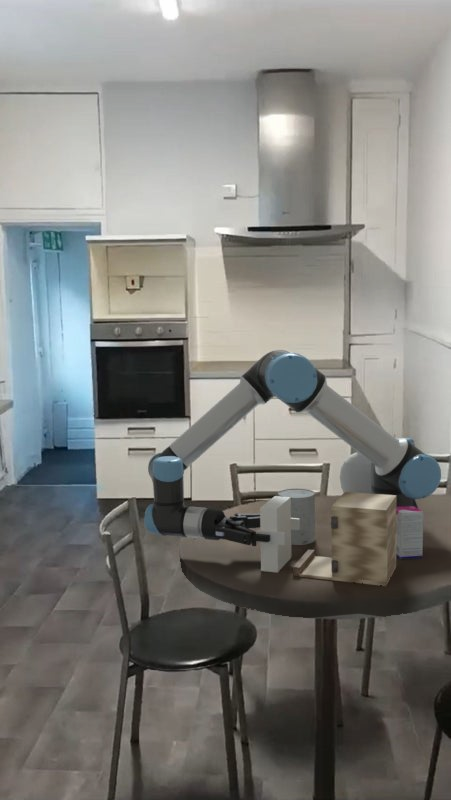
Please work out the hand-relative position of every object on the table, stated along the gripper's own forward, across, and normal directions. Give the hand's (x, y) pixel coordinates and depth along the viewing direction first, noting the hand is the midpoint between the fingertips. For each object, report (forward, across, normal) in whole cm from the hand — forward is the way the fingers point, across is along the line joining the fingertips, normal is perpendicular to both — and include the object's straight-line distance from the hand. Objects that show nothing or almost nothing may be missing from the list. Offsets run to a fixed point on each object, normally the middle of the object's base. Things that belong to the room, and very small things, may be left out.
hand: (292, 531), depth 189 cm
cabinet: (+13, +1, -8) cm, 15 cm away
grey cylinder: (-5, -20, -9) cm, 22 cm away
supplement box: (+24, -16, -9) cm, 30 cm away
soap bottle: (+4, -60, -9) cm, 60 cm away
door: (-4, 0, -8) cm, 9 cm away
